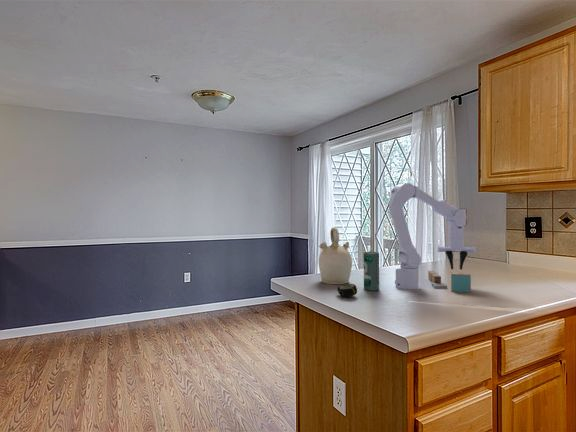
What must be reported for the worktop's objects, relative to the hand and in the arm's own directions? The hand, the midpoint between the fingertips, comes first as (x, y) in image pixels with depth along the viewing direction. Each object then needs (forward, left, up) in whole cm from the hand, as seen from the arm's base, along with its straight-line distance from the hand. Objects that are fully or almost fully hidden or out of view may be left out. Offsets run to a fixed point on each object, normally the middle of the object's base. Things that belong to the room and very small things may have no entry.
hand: (456, 269), depth 147 cm
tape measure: (-41, -28, -7) cm, 50 cm away
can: (-34, -16, -7) cm, 38 cm away
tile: (0, -11, -7) cm, 13 cm away
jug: (-51, -6, -7) cm, 52 cm away
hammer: (-8, +2, -7) cm, 11 cm away
